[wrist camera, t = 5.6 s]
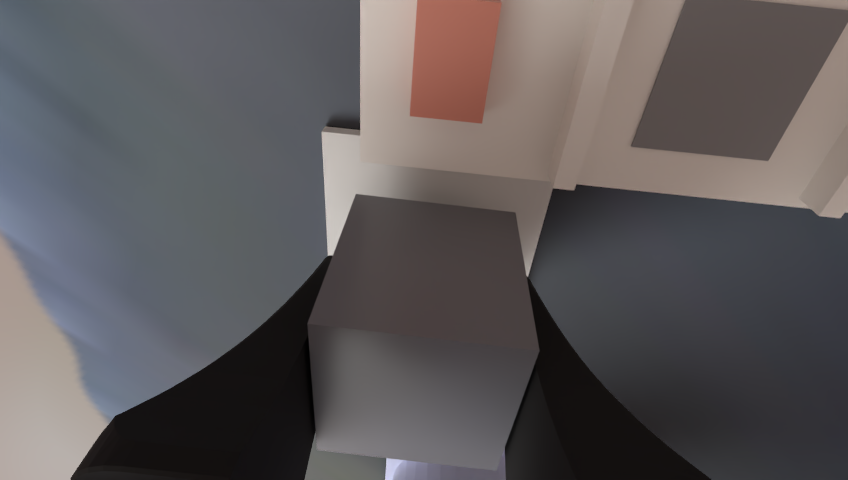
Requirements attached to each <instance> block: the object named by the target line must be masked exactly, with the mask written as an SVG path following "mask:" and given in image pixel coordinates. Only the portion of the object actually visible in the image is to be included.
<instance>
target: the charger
mask: <svg viewBox="0 0 848 480" xmlns="http://www.w3.org/2000/svg"><path fill="white" fill-rule="evenodd" d="M307 325H308V338H309V351H310V365H311V378H312V391H313V404H314V417H315V430H316V443H317V450H321V451H330V452H338V453H347V454H356V455H364V456H373V457H381V458H390V459H399V460H407V461H416V462H424V463H433V464H442V465H450V466H459V467H467V468H476V469H485V470H493V471H496V470H497V467H498V465H499V462H500V459H501V456H502V454H503V451H504V448H505V445H506V442H507V440H508V437H509V434H510V431H511V429H512V426H513V423H514V420H515V417H516V415H517V412H518V409H519V406H520V404H521V401H522V398H523V395H524V392H525V390H526V387H527V384H528V381H529V378H530V376H531V373H532V370H533V367H534V365H535V362H536V359H537V356H538V353H539V345H538V339H537V333H536V328H535V322H534V316H533V310H532V305H531V299H530V293H529V287H528V282H527V276H526V270H525V264H524V259H523V253H522V247H521V241H520V236H519V230H518V224H517V218H516V213H515V212H508V211H499V210H491V209H482V208H473V207H465V206H456V205H448V204H439V203H430V202H422V201H413V200H405V199H396V198H387V197H379V196H370V195H362V194H356V195H355V198H354V200H353V203H352V206H351V208H350V211H349V214H348V216H347V219H346V222H345V224H344V227H343V230H342V232H341V235H340V238H339V240H338V243H337V246H336V248H335V251H334V254H333V256H332V259H331V262H330V264H329V267H328V270H327V273H326V275H325V278H324V281H323V283H322V286H321V289H320V291H319V294H318V297H317V299H316V302H315V305H314V307H313V310H312V313H311V315H310V318H309V321H308V323H307Z"/></svg>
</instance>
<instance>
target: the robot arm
mask: <svg viewBox="0 0 848 480" xmlns="http://www.w3.org/2000/svg"><path fill="white" fill-rule="evenodd" d="M331 259H332V255H329V256H328V257H326V258H325V259H324V261H323V262H322V263H321V264H320V265H319V267H318V268H317V269H316V270H315V271H314V273H313V274H312V275H311V276H310V277H309V278H308V279H307V281H306V282H305V283H304V284H303V285H302V286H301V287H300V288H299V289H298V290H297V291H296V292H295V293H294V295H293V296H292V297H291V298H290V299H289V300H288V301H287V302H286V303H285V304H284V305H283V306H282V307H281V308H280V309H279V310H277V311H276V312H275V313H274V314H273V315H272V316H271V317H270V318H269V319H268V320H267V321H266V322H265V323H263V324H262V325H261V326H260V327H259V328H258V329H256V330H255V331H254V332H253V333H252V334H250V335H249V336H248V337H247V338H245V339H244V340H243V341H242V342H240V343H239V344H238V345H237V346H235V347H234V348H232V349H231V350H230V351H228V352H227V353H225V354H224V355H223V356H221V357H220V358H218V359H217V360H216V361H214V362H213V363H211V364H210V365H208V366H207V367H205V368H204V369H202V370H201V371H199V372H197V373H196V374H194V375H192V376H191V377H189V378H187V379H186V380H184V381H182V382H181V383H179V384H177V385H175V386H174V387H172V388H170V389H168V390H167V391H165V392H163V393H161V394H159V395H157V396H155V397H153V398H151V399H149V400H147V401H145V402H143V403H141V404H139V405H137V406H135V407H133V408H131V409H129V410H127V411H125V412H123V413H121V414H119V415H116V416H115V417H114V418H113V420H112V421H111V422H110V424H109V425H108V426H107V427H106V428H105V430H104V431H103V432H102V433H101V435H100V436H99V437H98V439H97V440H96V442H95V443H94V444H93V446H92V448H91V449H90V450H89V452H88V453H87V455H86V456H85V458H84V459H83V461H82V462H81V464H80V465H79V467H78V468H77V470H76V471H75V473H74V474H73V475H72V477H71V480H304V479H305V474H306V470H307V465H308V461H309V456H310V452H311V448H312V443H313V439H314V435H315V431H316V430H315V417H314V404H313V391H312V378H311V365H310V351H309V338H308V325H307V323H308V321H309V318H310V315H311V313H312V310H313V307H314V305H315V302H316V299H317V297H318V294H319V291H320V289H321V286H322V283H323V281H324V278H325V275H326V273H327V270H328V267H329V264H330V262H331ZM527 282H528V287H529V293H530V299H531V305H532V310H533V316H534V322H535V328H536V333H537V339H538V345H539V353H538V356H537V359H536V362H535V365H534V367H533V370H532V373H531V376H530V378H529V381H528V384H527V387H526V390H525V392H524V395H523V398H522V401H521V404H520V406H519V409H518V412H517V415H516V417H515V420H514V423H513V426H512V429H511V431H510V434H509V437H508V440H507V442H506V445H505V448H504V451H503V454H502V456H501V459H500V462H499V465H498V467H497V470H496V471H493V470H485V469H476V468H467V467H459V466H450V465H442V464H433V463H424V462H416V461H407V460H399V459H390V458H387V460H386V475H385V480H711V479H710V478H709V477H707V476H706V475H705V474H703V473H702V472H701V471H699V470H698V469H697V468H695V467H694V466H693V465H692V464H690V463H689V462H688V461H686V460H685V459H684V458H682V457H681V456H680V455H678V454H677V453H676V452H674V451H673V450H672V449H671V448H669V447H668V446H667V445H666V444H665V443H663V442H662V441H661V440H660V439H659V438H658V437H656V436H655V435H654V434H653V433H652V432H651V431H649V430H648V429H647V428H646V427H645V426H644V425H643V424H642V423H640V422H639V421H638V420H637V419H636V418H635V417H634V416H633V415H632V414H631V413H630V412H629V411H628V410H627V409H626V408H625V407H624V406H623V405H622V404H621V403H620V402H619V401H618V400H617V399H616V398H615V397H614V396H613V395H612V394H611V393H610V392H609V391H608V390H607V389H606V388H605V387H604V386H603V385H602V384H601V382H600V381H599V380H598V379H597V378H596V377H595V376H594V374H593V373H592V372H591V371H590V370H589V368H588V367H587V366H586V365H585V363H584V362H583V361H582V360H581V358H580V357H579V356H578V354H577V353H576V352H575V350H574V349H573V348H572V346H571V345H570V344H569V342H568V341H567V339H566V338H565V336H564V335H563V334H562V332H561V331H560V329H559V328H558V326H557V324H556V323H555V321H554V320H553V318H552V317H551V315H550V314H549V312H548V310H547V309H546V307H545V305H544V304H543V302H542V300H541V299H540V297H539V295H538V293H537V292H536V290H535V288H534V286H533V285H532V283H531V281H530V279H529V278H528V277H527Z"/></svg>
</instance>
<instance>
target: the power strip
mask: <svg viewBox="0 0 848 480" xmlns="http://www.w3.org/2000/svg"><path fill="white" fill-rule="evenodd" d="M360 162H367V163H376V164H386V165H396V166H405V167H415V168H424V169H434V170H444V171H453V172H463V173H472V174H482V175H492V176H501V177H511V178H520V179H530V180H540V181H549V182H551V184H552V187H553V188H555V189H565V190H575V186H576V184H578V185H588V186H597V187H607V188H616V189H626V190H636V191H645V192H655V193H664V194H674V195H684V196H693V197H703V198H712V199H722V200H731V201H741V202H751V203H760V204H770V205H779V206H789V207H799V208H808V209H811V210H813V211H814V212H815V213H816V214H817V215H818V216H824V217H833V218H841V217H842V216H843V214H844V213H845V212H847V213H848V0H360Z"/></svg>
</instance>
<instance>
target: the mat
mask: <svg viewBox="0 0 848 480" xmlns="http://www.w3.org/2000/svg"><path fill="white" fill-rule="evenodd" d="M322 148H323V167H324V186H325V205H326V225H327V244H328V256H329V255H332V256H333V254H334V251H335V248H336V246H337V243H338V240H339V238H340V235H341V232H342V230H343V227H344V224H345V222H346V219H347V216H348V214H349V211H350V208H351V206H352V203H353V200H354V198H355V195H356V194H362V195H370V196H379V197H387V198H396V199H405V200H413V201H422V202H430V203H439V204H448V205H456V206H465V207H473V208H482V209H491V210H499V211H508V212H515V213H516V218H517V224H518V230H519V236H520V241H521V247H522V253H523V259H524V264H525V270H526V276H527V277H528V275H529V271H530V268H531V264H532V261H533V257H534V254H535V250H536V247H537V243H538V239H539V236H540V232H541V229H542V225H543V222H544V218H545V215H546V211H547V208H548V204H549V201H550V197H551V193H552V190H553V187H552V184H551V182H549V181H540V180H530V179H520V178H511V177H501V176H492V175H482V174H472V173H463V172H453V171H444V170H434V169H424V168H415V167H405V166H396V165H386V164H376V163H367V162H360V130H355V129H346V128H336V127H326V126H325V127H324V129H323V130H322Z"/></svg>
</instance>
